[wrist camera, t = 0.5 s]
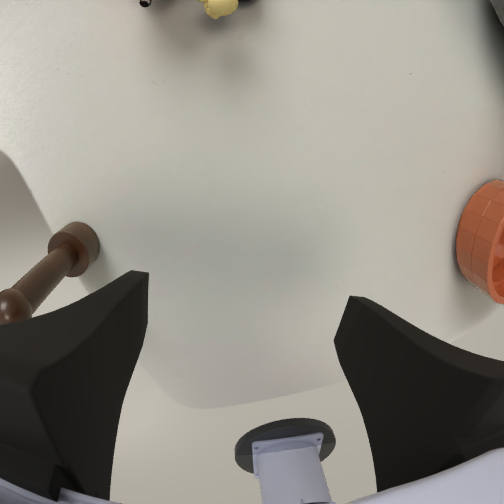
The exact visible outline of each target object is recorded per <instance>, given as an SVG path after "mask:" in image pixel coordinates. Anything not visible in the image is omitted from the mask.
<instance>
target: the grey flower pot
mask: <svg viewBox="0 0 504 504" xmlns="http://www.w3.org/2000/svg"><path fill="white" fill-rule="evenodd" d="M490 2H491V4H492V6H493V7H494V9H495V11H496V13H497V15H498V17H499V20H500V22H501V23H502V25H503V26H504V0H490Z"/></svg>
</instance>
